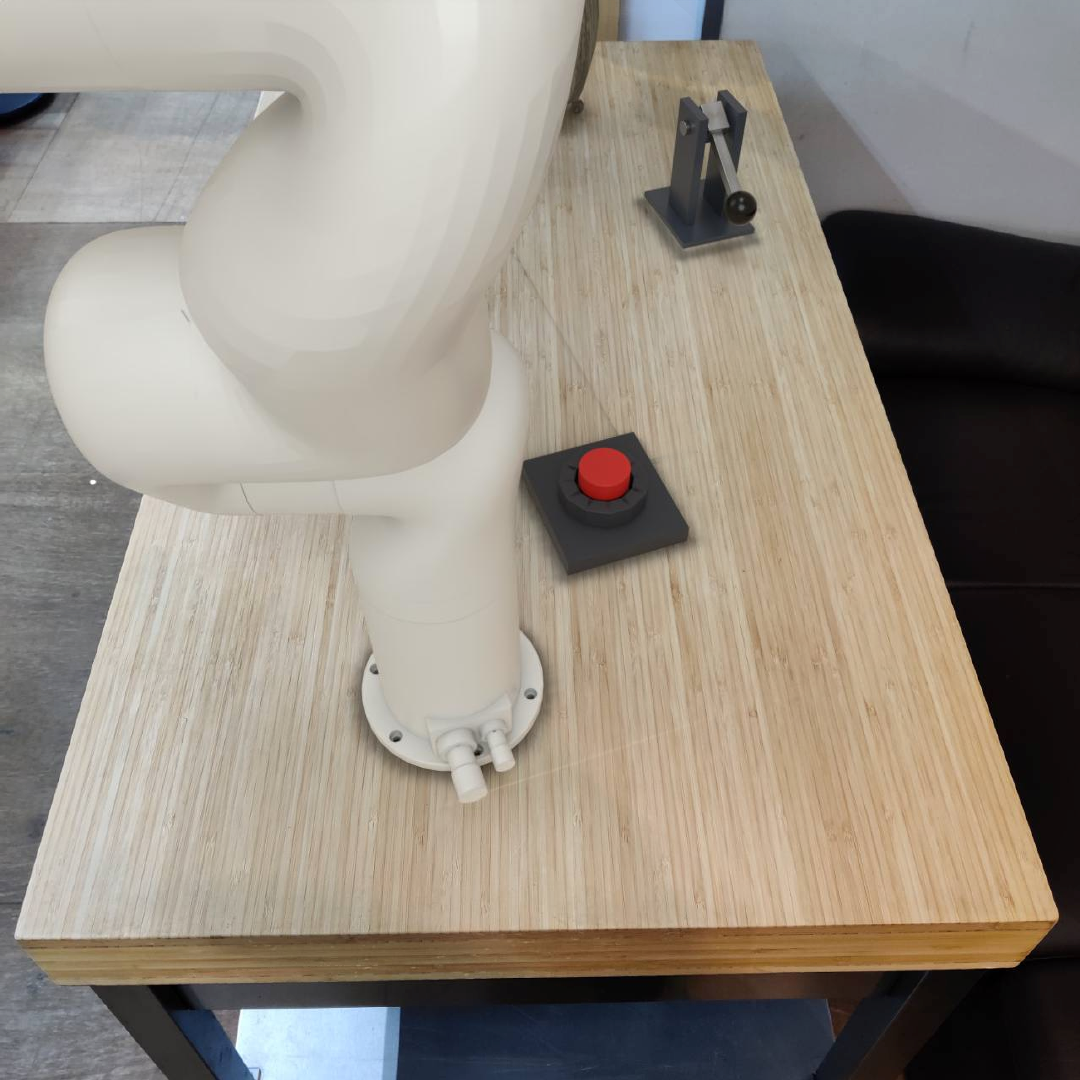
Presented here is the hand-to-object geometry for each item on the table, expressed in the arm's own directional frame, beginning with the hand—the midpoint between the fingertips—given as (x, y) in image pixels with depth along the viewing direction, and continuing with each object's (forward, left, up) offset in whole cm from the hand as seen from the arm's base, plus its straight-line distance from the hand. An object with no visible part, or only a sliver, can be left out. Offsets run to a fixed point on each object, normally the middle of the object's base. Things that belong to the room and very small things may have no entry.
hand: (441, 85), depth 67 cm
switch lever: (+12, -30, -20) cm, 38 cm away
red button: (-18, -6, -24) cm, 31 cm away
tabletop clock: (+40, -20, -27) cm, 52 cm away
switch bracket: (+15, -30, -27) cm, 43 cm away
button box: (-18, -6, -27) cm, 33 cm away
